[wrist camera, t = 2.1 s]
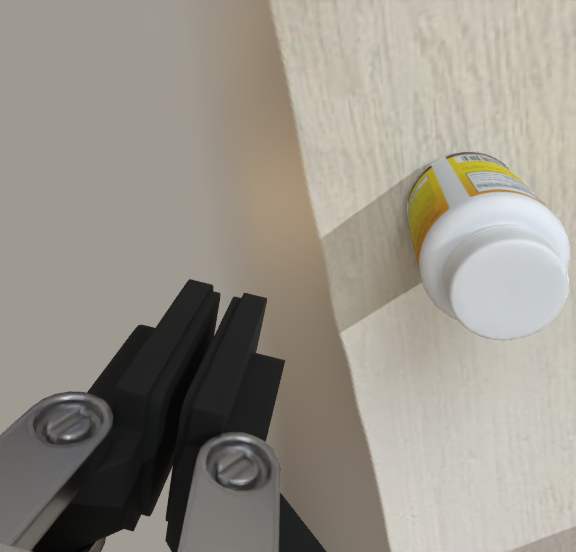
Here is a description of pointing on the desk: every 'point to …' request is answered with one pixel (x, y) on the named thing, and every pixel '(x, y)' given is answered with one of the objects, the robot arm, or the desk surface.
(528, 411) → the desk surface
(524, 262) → the supplement bottle
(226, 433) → the robot arm
